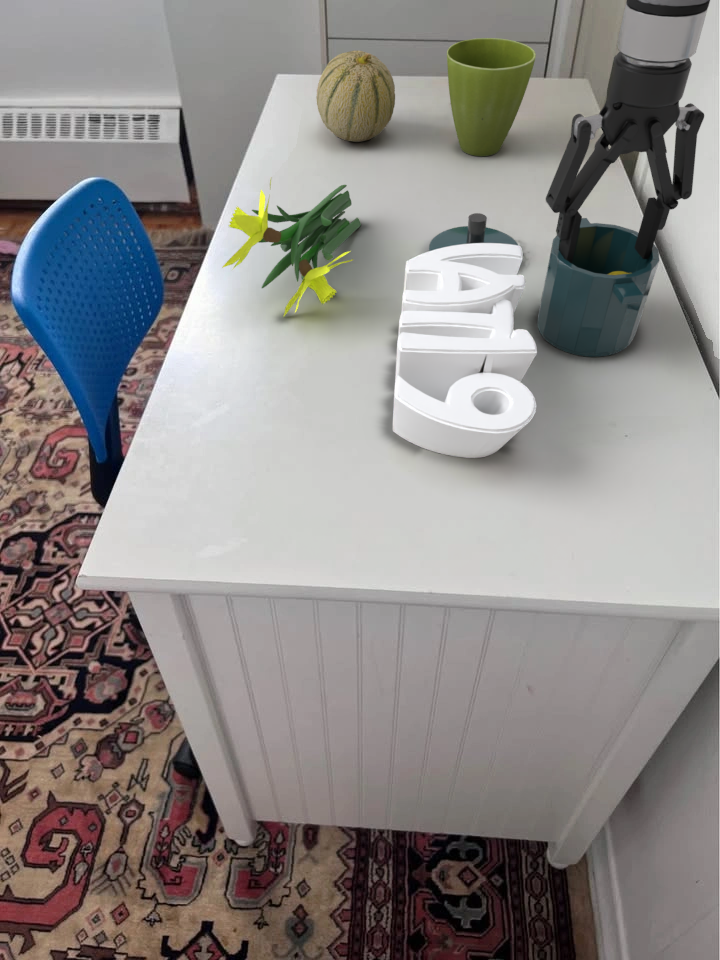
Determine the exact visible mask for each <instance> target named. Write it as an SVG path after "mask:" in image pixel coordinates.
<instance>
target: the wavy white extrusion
mask: <svg viewBox="0 0 720 960" xmlns="http://www.w3.org/2000/svg"><path fill="white" fill-rule="evenodd" d="M523 259H524V255H523V249H522V246H520V245H519V244H518V245H511V244H500V243H472V244H461V245H454V246H448V247H443V248H439V249H435V250H432V251H429V250H428V251H426V252H423V253H420V254H418V255H416V256H414V257H411V258H409V259H407V260H406V261H405V269H404V282H403V293H402V297H401V300H402V301H401V313H400V316H399V318H398V319H399V320H398V335H397V342H396V359H395V378H394V379H395V380H394V392H393V393H394V395H393V411H392V413H393V414H392V432H393V433H394V434H396V435H397V436H399V437H400V438H402V439H404V440H406V441H407V442H409V443H411V444H413V445H415V446H417V447H420V448H422V449H425V450H426V451H427V450H428V451H430V452H433V453H438V454H442V455H447V456H450V457H457V458H465V459H466V458H467V459H479V458H484V457H488V456H491V455H493V454H495V453H497V452H498V451H499V450H501V449H502V447H504V446H505V445H506V444H507V443H508V442H509V441H510V440H511V439H513V438H514V436H516V435H517V434H518V433H519V432H520V431H521V430H523V428H524V427H525V426H527V425H528V424H529V423H530V422H531V420H532V419H533V418H534V416H535V414H536V412H537V402H536V398H535V395H534V394H533V392H532V391H531V390H530V389H529V387H527V386H526V385H525V384H524V383H522V381H523V379H524V377H525V375H526V373H527V372H528V370H529V368H530V366H531V364H532V363H533V361H534V359H535V357H536V356H537V353H538V348H537V344H536V341H535V339H534V338H533V336H532V334H530V332H529V331H528V329H523V328H516V329H514V326H515V325H514V323H515V321H514V315H515V313H516V310H517V307H518V304H519V302H520V300H521V297H522V295H523V293H524V290H525V287H526V282H527V281H526V278H525V275H523V274H518V273H519V270H520V267H521V265H522V261H523Z"/></svg>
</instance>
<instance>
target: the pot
mask: <svg viewBox="0 0 720 960" xmlns="http://www.w3.org/2000/svg"><path fill="white" fill-rule="evenodd" d="M638 233H639V231H636V230H634V229H631V228H628V227H624V226H620V225H616V224H609V223H600V222H592V223H591V221H590V220H589V219H588V218H587V217H582V220H581V224H580V229H579V233H578V238H577V243H576V247H575V252H574V257H573V261H572V263H570V262H569V261H567V260H566V259H565V258H564V257H563V255H562V254H561V252H560V251H559V247H560V242H561V240H560V239H559V237H558V236H557V235H556V236H555V237H554V238H553V239H552V243H551V248H550V252H549V258H548V264H547V268H546V274H545V278H544V283H543V289H542V294H541V298H540V304H539V308H538V309H539V310H538V315H537V322H536V323H537V329H538V332H539V334H540V335H541V337H542V338H543V339H544V340H545V341H546V342H547V343H548V344H550V345H551V346H553V347H555V348H556V349H558V350H560V351H563V352H565V353H568V354H571V355H575V356H581V357H589V358H590V357H592V358H598V357H600V358H601V357H609V356H613V355H615V354H617V353H620V352H623V350H625V349H627V348H628V347H629V346H630V344H632V342H633V340H634V338H635V336H636V334H637V331H638V327H639V325H640V323H641V319H642V316H643V313H644V310H645V306H646V303H647V300H648V297H649V294H650V290H651V287H652V285H653V281H654V278H655V276H656V272H657V270H658V266H659V264H660V250H659V249H658V247H657V246H656V245H655V243H654V244H653V248H652V251H651V254H650V258H649V259H643V258H642V257H641V256H640V255H639V253H638V252H637V251H636V250H635V248H634V247H635V244H636V240H637V237H638ZM615 271H624V272H627V273H629V274H620V275H608V274H609V273H611V272H615Z"/></svg>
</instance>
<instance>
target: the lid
mask: <svg viewBox="0 0 720 960" xmlns="http://www.w3.org/2000/svg"><path fill="white" fill-rule="evenodd" d="M487 221H488V217H487V215H486V214H484V213H478V212H477V213H471V214H470V215H469V216H468V221H467V225H465V226H457V227H452V228H449V229H446V230H443V231H442V232H439V233H438V234H436V235H435V236H434V237H433V238H432V239H431V241H430V242H429V245H428V252H429V251H432V250H435V249H439V248H443V247H448V246H454V245H461V244H472V243H500V244H511V245H519V244H518V242H517V241H516V240H515V239H514V238H513V237H512V236H510V235H509V234H507V233H505V232H503V231H501V230H498V229H495V228H490V227H487Z"/></svg>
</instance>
